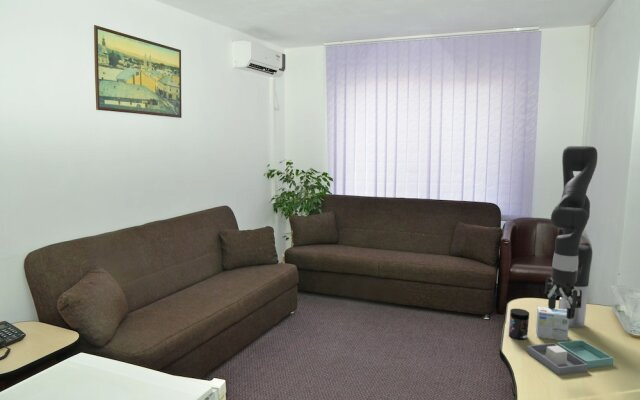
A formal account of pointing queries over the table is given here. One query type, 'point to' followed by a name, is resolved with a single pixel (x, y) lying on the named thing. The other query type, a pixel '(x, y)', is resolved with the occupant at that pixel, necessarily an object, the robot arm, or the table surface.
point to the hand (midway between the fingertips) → (560, 313)
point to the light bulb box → (552, 323)
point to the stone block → (556, 355)
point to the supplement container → (518, 324)
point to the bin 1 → (569, 368)
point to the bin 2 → (587, 353)
